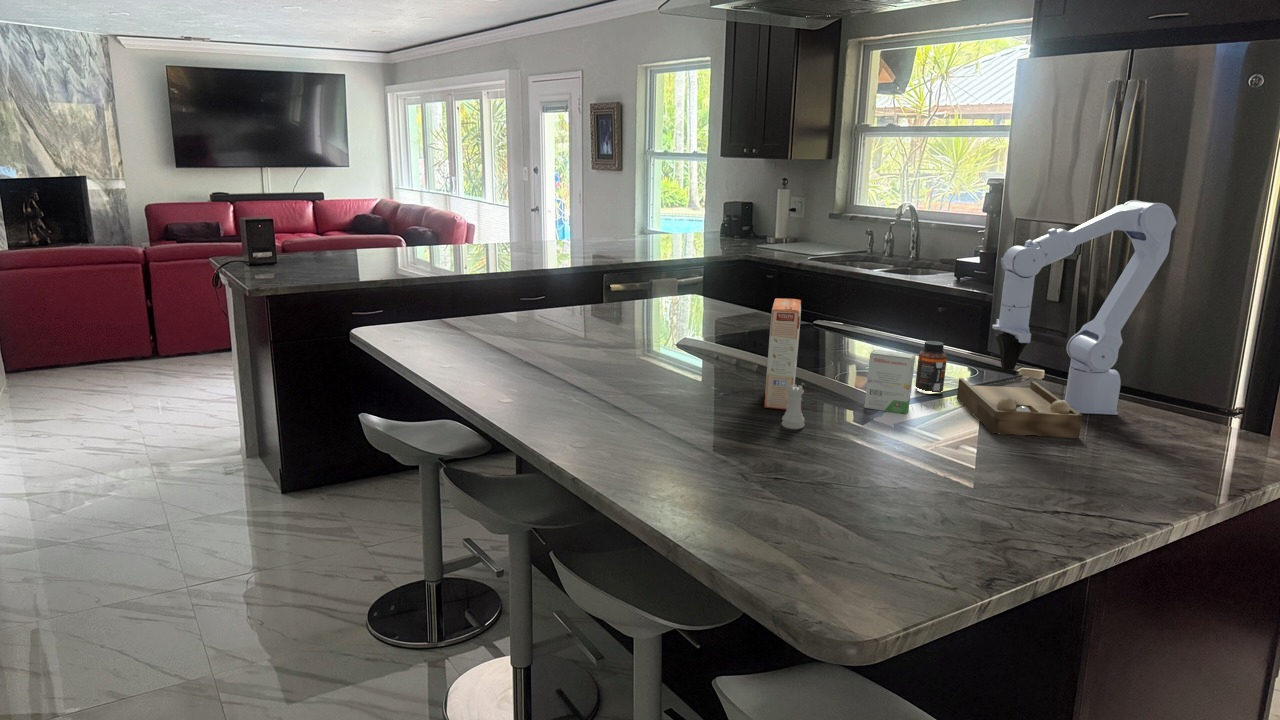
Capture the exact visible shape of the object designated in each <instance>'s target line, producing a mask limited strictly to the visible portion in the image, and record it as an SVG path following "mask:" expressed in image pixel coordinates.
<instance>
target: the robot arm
mask: <svg viewBox="0 0 1280 720" xmlns="http://www.w3.org/2000/svg"><path fill="white" fill-rule="evenodd" d="M1176 225H1177V220H1176V218H1175V215H1174V212H1173V211H1172V209H1171V207H1170V206H1169V205H1167V204H1166V203H1162V202H1148V201H1141V200H1138V199H1133V200H1132V199H1131V200H1129V201H1126V202H1125V203H1124V204H1118V205H1115V206H1114V207H1112V208H1111V209H1110V210H1107V211H1105V212H1103V213H1102V214H1099V215H1097V216H1095V217H1093V218H1091V219H1090V220H1087V221H1086V222H1083V223H1082V224H1079V225H1078V226H1075V227H1073V228H1071V229H1070V230H1066V229H1064V228H1053V227H1052V228H1051V229H1048V230H1047V233H1046V234H1045V235H1042V236H1039V237H1038V238H1035V239H1033V240H1032V239H1028V240H1026V241H1024V242H1025V244H1024V246H1023V245H1014V246H1012V247H1010V248H1008V249H1007V250H1006V252H1005V253H1004V255H1003V256H1002V257H1001V258H1000V263H1001V267H1002V269H1003V270H1004V279H1003V285H1002V292H1001V300H1000V301H1001V302H1000V310H999V317H998V318H996V321H995V324H992V329H993V330H998V331H1001V332H1002V333H995V334H994V338H995V341H996V342H997V346H998V350H999V356H1000V358H999V359H1000V364H1001V366H1000V367H1001V369H1003V370H1005V371H1006V370H1007V371H1014V370H1015V368H1016V365H1017V363H1018V360H1019V358H1020V356H1021V354H1022V352H1023V350H1024V349H1025V348H1026V346H1027V345H1028V344H1031V339H1032V333H1031V332H1030V327H1029V326H1030V325H1029V324H1030V316H1031V311H1032V301H1033V294H1034V287H1035V278H1036V275H1038V274H1039V273H1040V271H1041V270H1042V268H1044V267H1045V266H1046V267H1047V266H1049V265H1050V264H1053V263H1055V262H1057V261H1060V260H1061V259H1064V258H1066V257H1068V256H1070V255H1073V254H1074V251H1075V250H1076V247H1077V246H1078V245H1081V244H1084V243H1086V242H1089V241H1092V240H1093V239H1096V238H1099V237H1101V236H1104V235H1106V234H1109V233H1111V232H1114V231H1123V232H1124V233H1125V234H1126V235H1127V237H1128V238H1129V239H1130V241H1131V244H1132V246H1133V249H1134V252H1133V254H1132V256H1131V258H1130V259H1129V261H1128V262H1127V265H1126V266H1125V268H1124V269H1123V271H1122V273H1121V275H1120V276H1119V277H1118V279H1117V281H1116V283H1115V284H1114V286H1113V288H1112V289H1111V291H1110V292H1109V294H1108V295H1107V297H1106V298H1105V300H1104V302H1103V304H1102V305H1101V307H1100V309H1099V310H1098V312H1097V314H1096V315H1095V317H1094V318H1093V319H1092V320H1091V321H1088V322H1087V323H1085V324H1083V325H1082V327H1081V328H1080V330H1079V331H1078V332H1077V333H1075V334H1074V335H1072V336H1071V337H1070V338H1069V339H1068V342H1067V344H1066V352H1067V355H1068V356H1069V358H1070V364H1069V370H1068V375H1067V383H1066V389H1065V395H1064V396H1065V397H1064V399H1062V400H1063V401H1065V402H1067V403H1068V405H1069V406H1070V407H1071V408H1073V409H1074V410H1076V411H1077V412H1078V413H1080V414H1093V415H1111V416H1112V415H1114V416H1115V415H1118V414H1119V413H1118V412H1117V409H1118V408H1117V407H1118V402H1119V398H1120V391H1121V383H1122V382H1121V376H1120V373H1119V372H1118V371H1117V370H1116V369H1114V368H1113V367H1114V365H1116V363H1117V361H1118V358H1119V350H1120V349H1121V346H1122V345H1123V338H1122V333H1121V331H1122V329H1123V328H1124V326H1125V324H1126V323H1127V321H1128V320H1129V318H1130V316H1131V314H1132V313H1133V311H1134V310H1135V308H1136V307H1137V305H1138V303H1139V302H1140V300H1141V299H1142V297H1143V295H1144V294H1145V292H1146V290H1147V289H1148V287H1149V285H1150V284H1151V282H1153V279H1154V278H1155V276H1156V274H1157V273H1158V271H1159V269H1160V267H1161V266H1162V264H1163V263H1164V261H1165V260H1166V258H1167V256H1168V254H1169V252H1170V245H1171V244H1170V243H1171V237H1172V232H1173V230H1174V228H1175V227H1176ZM1111 368H1113V369H1111Z"/></svg>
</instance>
